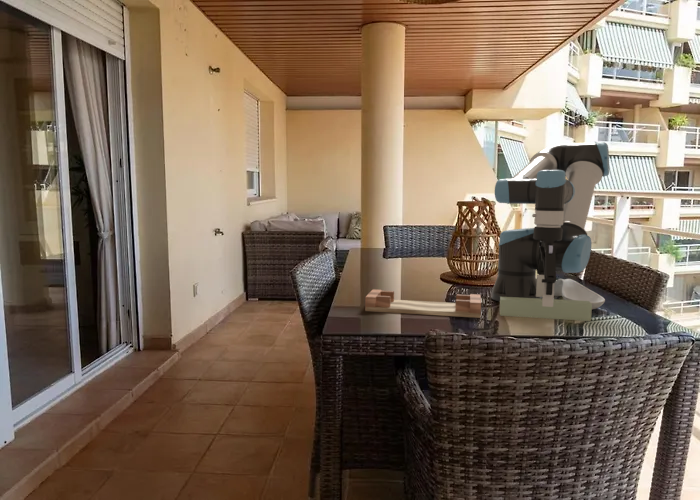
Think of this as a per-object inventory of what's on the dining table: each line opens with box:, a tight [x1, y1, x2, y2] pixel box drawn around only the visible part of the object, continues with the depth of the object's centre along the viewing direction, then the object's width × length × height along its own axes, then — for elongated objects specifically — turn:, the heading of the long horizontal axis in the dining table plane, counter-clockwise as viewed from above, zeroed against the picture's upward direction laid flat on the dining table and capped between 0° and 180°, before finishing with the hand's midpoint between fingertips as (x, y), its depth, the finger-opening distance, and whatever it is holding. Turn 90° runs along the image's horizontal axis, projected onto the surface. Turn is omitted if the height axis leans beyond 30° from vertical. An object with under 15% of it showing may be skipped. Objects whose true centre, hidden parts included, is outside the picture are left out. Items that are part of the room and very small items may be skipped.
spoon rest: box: [554, 278, 606, 310], centre depth 162 cm, size 24×12×7 cm, turn 4°
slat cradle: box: [364, 288, 482, 319], centre depth 153 cm, size 12×33×4 cm, turn 77°
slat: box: [499, 297, 592, 322], centre depth 145 cm, size 4×24×5 cm, turn 76°
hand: (544, 301), depth 145 cm, fingers open, 13 cm apart
